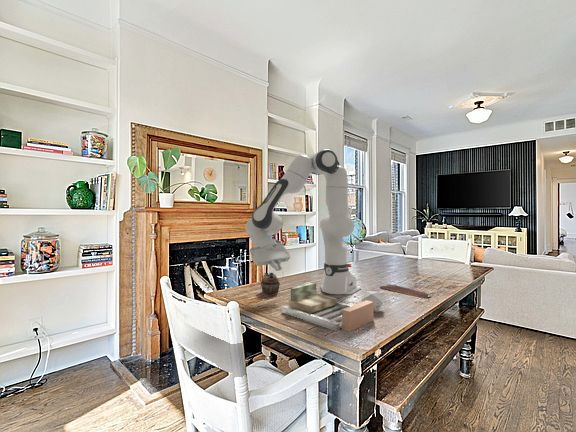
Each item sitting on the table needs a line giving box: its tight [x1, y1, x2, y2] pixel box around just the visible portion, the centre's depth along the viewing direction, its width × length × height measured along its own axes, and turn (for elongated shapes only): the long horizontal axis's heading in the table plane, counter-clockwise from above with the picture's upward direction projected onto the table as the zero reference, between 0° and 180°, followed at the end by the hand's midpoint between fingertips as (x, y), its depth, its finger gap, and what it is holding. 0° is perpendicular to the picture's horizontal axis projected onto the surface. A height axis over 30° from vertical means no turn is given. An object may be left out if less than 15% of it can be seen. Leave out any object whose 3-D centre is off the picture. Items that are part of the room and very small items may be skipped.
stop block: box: [341, 300, 374, 333], centre depth 115 cm, size 16×3×7 cm, turn 135°
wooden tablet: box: [379, 283, 430, 299], centre depth 161 cm, size 26×2×10 cm
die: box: [361, 290, 383, 313], centre depth 131 cm, size 8×9×10 cm
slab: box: [288, 281, 337, 313], centre depth 130 cm, size 16×12×7 cm
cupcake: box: [260, 272, 281, 296], centre depth 158 cm, size 10×10×10 cm
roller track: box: [281, 300, 353, 332], centre depth 126 cm, size 22×27×2 cm
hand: (279, 269), depth 144 cm, fingers closed
